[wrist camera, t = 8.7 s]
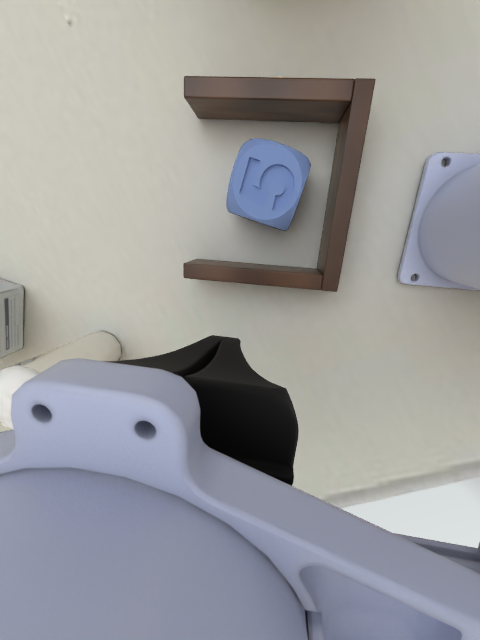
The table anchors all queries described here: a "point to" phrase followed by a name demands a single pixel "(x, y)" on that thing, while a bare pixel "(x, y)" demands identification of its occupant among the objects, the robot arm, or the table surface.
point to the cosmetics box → (11, 317)
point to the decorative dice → (267, 182)
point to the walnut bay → (292, 105)
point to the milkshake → (87, 347)
